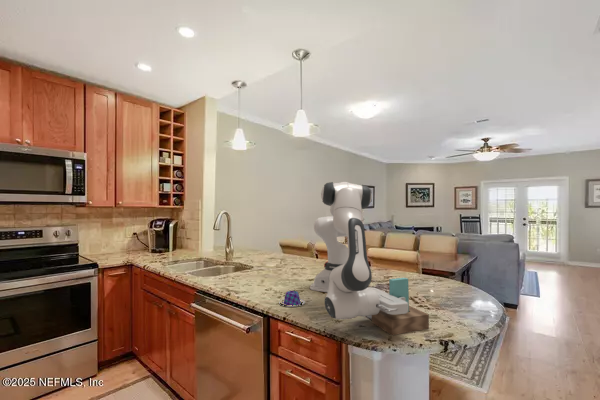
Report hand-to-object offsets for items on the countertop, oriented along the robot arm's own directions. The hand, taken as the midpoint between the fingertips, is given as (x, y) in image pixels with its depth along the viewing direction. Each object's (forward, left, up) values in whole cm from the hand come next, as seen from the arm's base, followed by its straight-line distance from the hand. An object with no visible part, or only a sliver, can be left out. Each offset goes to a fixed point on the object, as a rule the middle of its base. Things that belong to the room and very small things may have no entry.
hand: (401, 297), depth 108 cm
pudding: (-48, +10, -11) cm, 50 cm away
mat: (-10, +11, -10) cm, 18 cm away
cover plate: (-1, -1, -10) cm, 10 cm away
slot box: (-1, -1, -10) cm, 10 cm away
